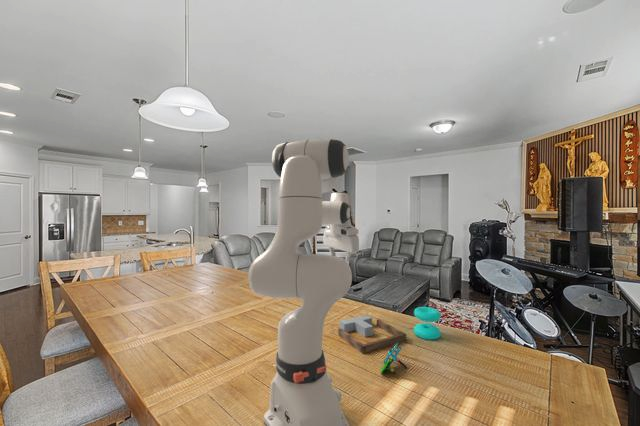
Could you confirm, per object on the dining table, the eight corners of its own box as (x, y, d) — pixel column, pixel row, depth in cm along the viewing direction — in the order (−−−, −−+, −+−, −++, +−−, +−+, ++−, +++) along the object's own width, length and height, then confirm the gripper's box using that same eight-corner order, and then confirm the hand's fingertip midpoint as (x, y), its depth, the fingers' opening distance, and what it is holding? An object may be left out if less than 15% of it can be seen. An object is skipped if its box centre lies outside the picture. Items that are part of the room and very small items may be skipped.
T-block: (382, 332, 114) (382, 323, 114) (354, 339, 107) (354, 330, 107) (366, 322, 123) (366, 314, 123) (339, 329, 117) (339, 320, 117)
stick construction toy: (387, 349, 96) (398, 337, 91) (404, 364, 93) (417, 352, 89) (372, 375, 86) (384, 363, 82) (391, 393, 84) (404, 381, 80)
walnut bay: (406, 340, 106) (406, 334, 106) (362, 353, 97) (362, 346, 97) (378, 325, 121) (378, 319, 121) (338, 335, 111) (338, 328, 111)
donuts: (446, 312, 108) (425, 316, 105) (446, 338, 108) (425, 342, 105) (428, 304, 117) (408, 307, 114) (428, 328, 118) (408, 331, 114)
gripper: (319, 226, 131) (320, 255, 132) (350, 232, 115) (350, 265, 117) (330, 224, 135) (330, 252, 136) (361, 230, 119) (361, 262, 120)
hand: (339, 258), depth 126 cm, fingers open, 8 cm apart
